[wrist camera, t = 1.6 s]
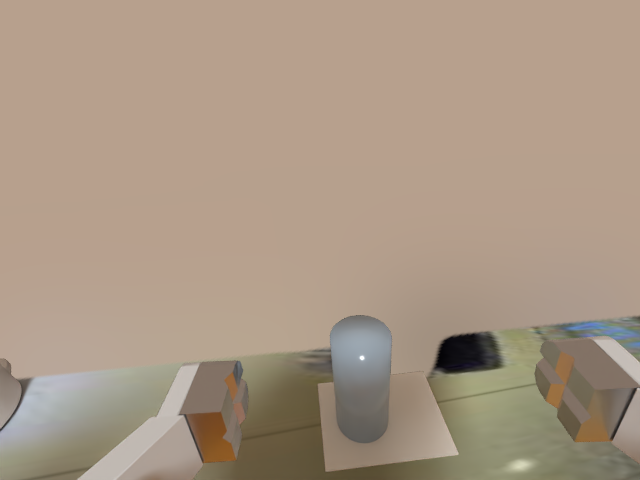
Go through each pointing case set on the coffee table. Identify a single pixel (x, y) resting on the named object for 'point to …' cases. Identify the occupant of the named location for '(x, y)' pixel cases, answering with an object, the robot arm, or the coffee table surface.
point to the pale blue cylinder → (361, 376)
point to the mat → (389, 428)
